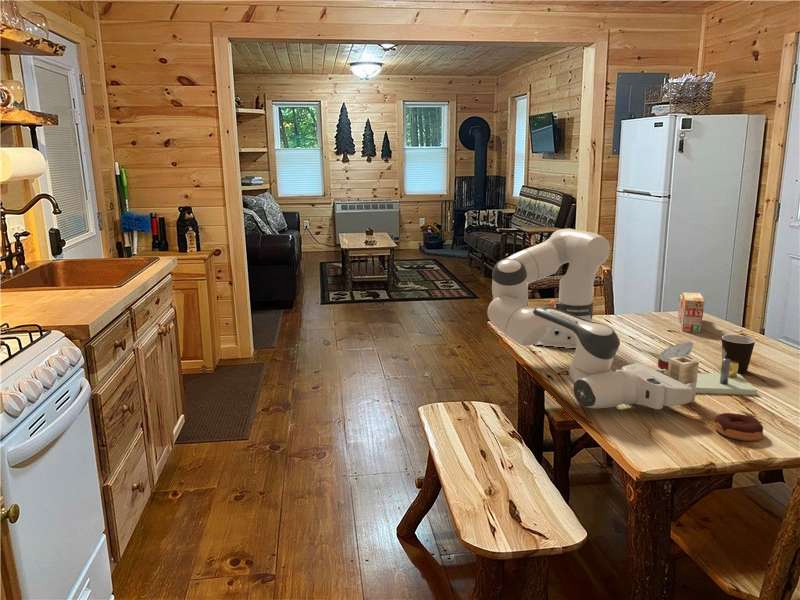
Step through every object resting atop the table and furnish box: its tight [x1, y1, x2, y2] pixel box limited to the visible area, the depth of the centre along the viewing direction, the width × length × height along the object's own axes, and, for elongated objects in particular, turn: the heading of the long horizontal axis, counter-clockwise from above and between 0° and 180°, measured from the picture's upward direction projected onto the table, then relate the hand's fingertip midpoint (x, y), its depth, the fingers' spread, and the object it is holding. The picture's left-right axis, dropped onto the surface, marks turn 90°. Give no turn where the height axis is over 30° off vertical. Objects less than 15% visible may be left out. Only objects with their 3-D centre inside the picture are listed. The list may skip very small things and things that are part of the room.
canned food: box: [657, 341, 694, 370], centre depth 179 cm, size 11×10×10 cm
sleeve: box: [667, 356, 700, 403], centre depth 155 cm, size 5×5×11 cm
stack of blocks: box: [677, 291, 705, 334], centre depth 222 cm, size 21×6×12 cm, turn 160°
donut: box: [713, 412, 764, 442], centre depth 137 cm, size 10×10×4 cm
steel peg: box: [720, 358, 731, 385], centre depth 162 cm, size 2×2×7 cm
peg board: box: [696, 372, 758, 396], centre depth 165 cm, size 22×12×2 cm, turn 82°
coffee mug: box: [721, 334, 756, 376], centre depth 176 cm, size 12×9×10 cm
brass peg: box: [729, 361, 739, 378], centre depth 167 cm, size 3×3×4 cm
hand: (680, 378), depth 155 cm, fingers open, 8 cm apart
